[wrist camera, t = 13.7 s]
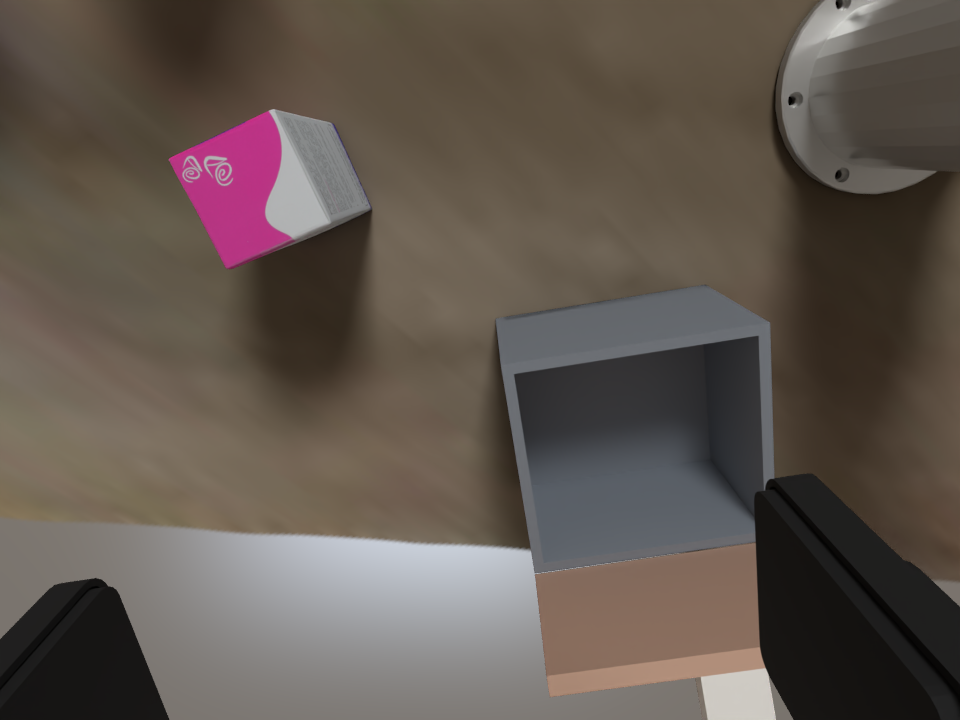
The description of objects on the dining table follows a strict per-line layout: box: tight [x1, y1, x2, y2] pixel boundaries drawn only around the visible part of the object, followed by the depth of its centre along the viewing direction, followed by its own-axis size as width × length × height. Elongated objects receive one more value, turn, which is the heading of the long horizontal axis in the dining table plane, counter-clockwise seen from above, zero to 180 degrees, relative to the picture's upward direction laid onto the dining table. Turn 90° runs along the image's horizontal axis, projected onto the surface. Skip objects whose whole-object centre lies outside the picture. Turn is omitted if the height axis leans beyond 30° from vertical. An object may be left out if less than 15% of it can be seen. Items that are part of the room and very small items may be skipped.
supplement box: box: [169, 109, 372, 269], centre depth 35 cm, size 6×6×12 cm
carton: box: [496, 285, 774, 573], centre depth 40 cm, size 14×13×10 cm
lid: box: [535, 543, 776, 720], centre depth 31 cm, size 14×13×7 cm
